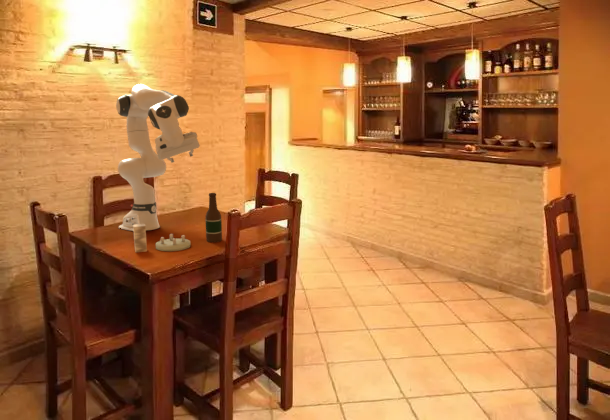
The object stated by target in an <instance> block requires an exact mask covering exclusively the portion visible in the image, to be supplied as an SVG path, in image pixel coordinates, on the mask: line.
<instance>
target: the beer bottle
mask: <svg viewBox="0 0 610 420" xmlns="http://www.w3.org/2000/svg"><path fill="white" fill-rule="evenodd" d="M208 199H209V200H208V210H207V211H206V213H205V218H204V219H205V221H204V222H205V238H206V242H208V243H218V242H219V243H220V242H221V241H222V240H223V230H222V229H223V227H222V226H223V225H222V215H221V212H220V211H219V209H218V205H217V193H216V192H209V194H208Z"/></svg>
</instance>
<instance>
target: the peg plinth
mask: <svg viewBox="0 0 610 420" xmlns="http://www.w3.org/2000/svg"><path fill="white" fill-rule="evenodd" d="M180 236H181V237H180V238H177V237H176V238H174V233H170V234H169V238H167V239H165V237H164V236H161V237H160V240H159V241H157V242H155V249H156V250H158V251H159V252H177V251H178V252H179V251H184V250H187V249H189V248H190V247H191V240H189V239H187V238H186V235H185V234H182V235H180Z"/></svg>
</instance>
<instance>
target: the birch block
mask: <svg viewBox="0 0 610 420" xmlns="http://www.w3.org/2000/svg"><path fill="white" fill-rule="evenodd" d="M132 232H133V241H134V242H133V245H134V251H135V253H142V252H145V253H146V252H148V247H147V246H148V245H147V230H146V227H145V224H135V225H133V231H132Z"/></svg>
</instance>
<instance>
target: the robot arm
mask: <svg viewBox="0 0 610 420" xmlns="http://www.w3.org/2000/svg"><path fill="white" fill-rule="evenodd" d="M115 103H116V104H115V109H116V111H117V114H118V115H119V116H121V117H125V118H126V134H127V135H126V136H127V141H128V147H129V148H130V150H132V151H134V152H137V153H138V155H140V157H131V158H126V159H122V160H120V161H119V162H118V165H117V172H118V175H119V176H120V177H122V179H124V180H125V181H127V182H128V184H129V185H130V186H131V190H132V193H133V203H132V204H130V208H131V207H132V208H131V210H130V211H129V212H127V214H125V215H124V216H123V218H122V224H120V225H118V229H120V228H121V230H126V231H130V232H131V231H132V232H133V225H135V224H145V227H146V231H152V230H157V229H159V228H161V226H160V224H159V220H158V215H157V202H156V193H155V188H154V187H153V186H152V185H150V184H148V183H145V181H144V178H145V179H146V178H155V177H160V176H163V175H164V174H165V173H166V171H167V164H166V162H165V159H167V160H168V161H170V163H171V164H172V163H175V160H174V157H175V156H177V155H180V154H184V153H186V152H188V154H189V157H190V158H191V157H194V155H193V154H194V150H196V149H198V148H199V147H200V146H201V145H200V141H199V140H198V134H197V132H195V131H189V132H187V133H183V130H182V129H181V127H180V122H179V118H183V117H186V116H187V115H188V112H189V110H190V106H189V104H188V102H187V100H186V99H185V97H183V96H182V95H179V94H173V93H172V92H169V91H167V90H159V89H153V88H151V87H150V86H148V85H147V84H144V83H140V84H139V83H138V84H136V85H134V86H133V87H132V88H131V94H127V93H125V94H124V95H122V96H119V97H118V98H117V99H116V102H115ZM148 117H149V120H150V123H151V125H152V127H154V128H155V129H157V130H160V131H161V134H160V135H158V136H157V137H155V139H154V143H155V150H154V149H153V147H152V145H151V144H152V142H151V139H150V134H149V133H150V132H149V127H148V126H149V125H148V123H147V119H148ZM155 151H156V152H155Z"/></svg>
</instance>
